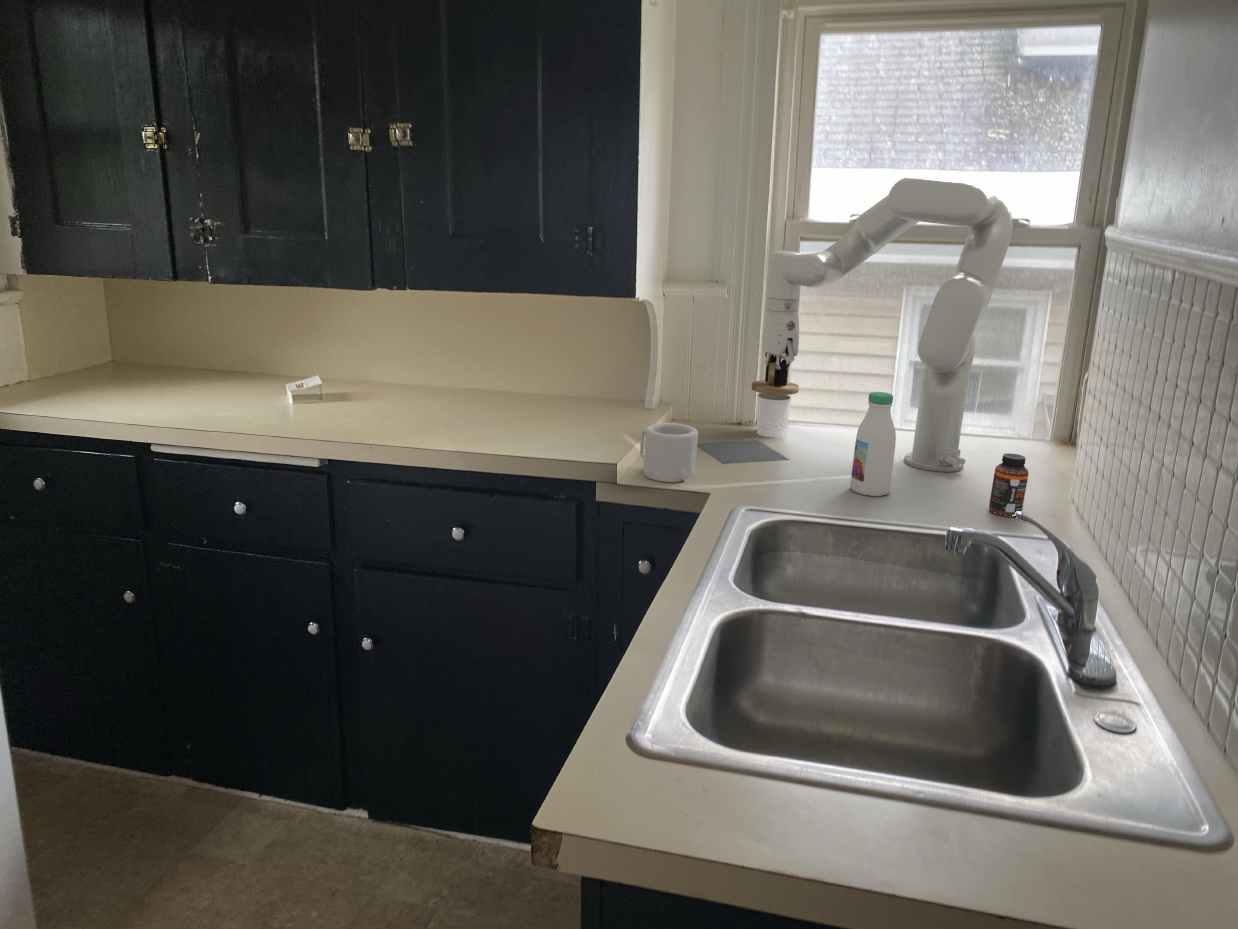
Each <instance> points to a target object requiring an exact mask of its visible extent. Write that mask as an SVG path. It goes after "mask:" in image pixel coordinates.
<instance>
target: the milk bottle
mask: <svg viewBox="0 0 1238 929" xmlns="http://www.w3.org/2000/svg"><path fill="white" fill-rule="evenodd" d="M893 402H894V395H893V394H892V393H889V392H882V391H872V392H870V393H869V395H868V402H867V404H868V408H867V411H866V414H865V416H864V418H863V419H862V420H861V422H860V425H859V427H858V428H857V433H856V437H855V443H854V452H853V460H852V468H851V478H850V489H851V491H852V492H854V493H856V494H859V495H862V496H863V495H864V496H867V495H870V496H869V497H883V496H882V495H884V496H886V495H888V494H889V493H890V491H891V490H890V489H891V485H892V478H893V468H894V461H895V451H896V439H897V433H896V427H895V424H894V420H893V417H892V413H891V410H892V409H891V408H892V407H893Z"/></svg>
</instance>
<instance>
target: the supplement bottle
mask: <svg viewBox="0 0 1238 929" xmlns="http://www.w3.org/2000/svg"><path fill="white" fill-rule="evenodd" d="M1026 458H1027V457H1025V455H1022V454H1017V453H1010V452H1008V453H1007V452H1006V453H1003V454H1002V459H1001V461H1002V462H1001V463H999V464H998V465H996V466H995V469H994V474H993V479H992V486H991V491H990V492H991V493H990V497H989V505H988V509H990V510H991V511H992V512H995V513H997V514H1001V515H1007V516H1012V515H1014V514H1015V512H1016V511H1023V509H1024V508H1023V507H1024V502H1025V496H1026V492H1027V485H1028V477H1029V470H1028V468H1026V467H1025V466H1026V465H1025V464H1026ZM990 510H989V511H990ZM991 511H990V512H991ZM992 512H991V513H992ZM995 513H994V514H995ZM997 514H996V515H997ZM1001 515H1000V516H1001ZM1013 518H1015V516H1014V517H1013Z"/></svg>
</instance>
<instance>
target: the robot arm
mask: <svg viewBox="0 0 1238 929" xmlns="http://www.w3.org/2000/svg"><path fill="white" fill-rule="evenodd" d="M920 222H921V223H928V224H935V225H936V224H937V225H946V226H952V227H953V226H954V227H967V228H968V234H967V238H966V240H965V243H964V245H963V247H962V249H961V253H960V256H959V259H958V261H957V265H956V267H955V268H954V269H955V270H954V272H953V274H952V275H951V277H950V278H948V279H947V280H945V281H944V282H943V283H942V284H941V285H940V287H939V288H938V290H937V291H936V294H935V297H934V299H933V302H932V305H931V307H930V310H929V312H928V315H927V319H926V322H925V324H924V327H923V330H922V333H921V336H920V338H919V341H918V348H917V353H918V357H919V361H920V362H921V364H922V365H923V366H924V368H923V373H922V374H923V375H922V378H921V385H920V392H919V400H918V406H917V407H918V408H917V414H916V421H915V430H914V437H913V444H912V445H913V446H912V451H911V452H908V453H906V454H904V458H903V461H904V463H906V464H907V465H909V466H911V467H914V468H916V469H920V470H924V471H929V472H931V471H932V472H938V473H940V472H942V473H950V472H951V473H952V472H959V471H961V470H962V469H963V468H964V465H965V464H966V459H965V458H963V457H961V449H959V446H960V441H961V434H962V433H961V432H962V428H963V426H962V425H963V419H964V413H965V406H966V399H967V394H968V386H969V382H970V375H971V371H972V366H973V362H974V358H975V357H974V356H975V352H976V351H975V350H976V340H975V335H974V331H975V328H976V326H977V324H978V322H979V319H980V316H981V314H982V313H984V312H985V310H987V308H988V306H989V304H990V302H991V299H992V295H993V292H994V290H995V285H996V284H997V280H998V278H999V275H1000V274H1001V270H1002V267H1003V263H1004V260H1005V257H1006V255H1007V252H1008V250H1009V246H1010V243H1011V240H1012V234H1013V217H1012V212H1011V209H1010V207H1009V205H1008V203H1007V202H1006V200H1005V199H1004V198H1003V196H1002V195H1001V194H1000V193H999V192H998V191H997V190H996V189H994V188H993V187H991V186H989V185H988V184H986V183H982V182H970V181H969V182H968V181H956V180H945V179H933V178H926V177H923V176H915V175H913V176H906V177H902V178H901V179H900V180H898V181H897V182H896V183H894V184H893V186H892V187H891V189H890V191H889V193H888V195H886V196H884V197H883V198H881V199H880V200H879V201H878V202H877V203H875V204H874V205H872V206H870V207H869V208H868V209H866V210H865V211H864V212H863V213H861V214H860V215H859V216H858V217H857V218H856V220H855V222H854V224H853V226H852V227H851V229H850V230H849V231H848V232H847V233H846V234H844V235H843V236H842V237H841V238H839V239H838V240H837V241H836V242H834V243H833V244H832V245H829V247H827V248H826V249H825V250H823V251H817V252H813V253H812V252H811V253H803V254H802V253H800V252H799V251H793V250H791V251H790V250H776V251H773V252H772V253H771V254H770V256H769V261H768V262H769V263H768V264H769V265H768V275H767V276H768V277H767V289H766V300H765V312H766V313H765V318H764V323H763V329H762V330H763V331H762V332H763V333H762V351H763V353H764V356H765V374H764V375H765V377H764V380H765V382H768V373H769V363H777V369H775V373H774V386H786V385H787V382H788V377H789V376H788V375H789V370H790V365H791V364H792V363H793V362H794V361H795V357H796V356H798V355H799V348H800V347H799V344H800V342H799V341H800V319H799V318H800V317H799V309H800V298H801V296H800V295H801V286H802V287H807V288H815V289H816V288H821V287H824V286H828V285H832V284H834V283H836V282H837V281H838V280H840V279H841V278H843V277H844V276H845V275H847V274H849V273H850V272H851V271H853V270H854V269H856V268H858V267H859V266H860V265H862V264H863V263H864V262H866V261H867V260H868V259H869V258H871V256H873V255H875V254H877V253H878V252H880V250H881V249H883V248H884V247H885V246H886V245H889V243H891V242H893V241H894V240H895V239H896V238H898V237H899V236H901V235H902V234H903V233H905V232H906V231H908V230H910V228H912V227H914V226H915V225H916V224H918V223H920ZM784 354H785V355H784Z"/></svg>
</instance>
